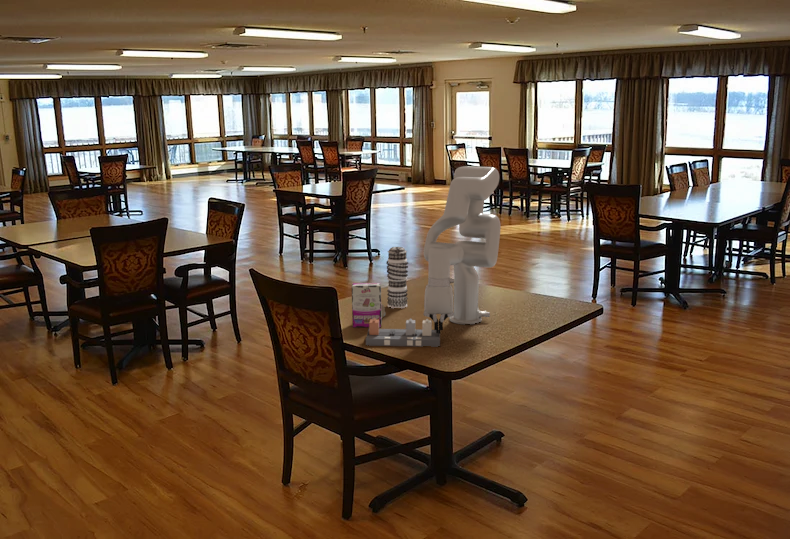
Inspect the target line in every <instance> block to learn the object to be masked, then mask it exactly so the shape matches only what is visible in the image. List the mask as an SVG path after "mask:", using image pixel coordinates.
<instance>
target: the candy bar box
mask: <svg viewBox="0 0 790 539" xmlns="http://www.w3.org/2000/svg"><path fill="white" fill-rule="evenodd" d="M381 304H382V282H366V283H365V282H361V283H360V282H359V283H358V282H357V283H354V282H353V283H351V309H352V310H351V311H352V312H351V316H352V328H369V322H370V319H374V318H376V320H379V328H381V327H382V322H383V321H382V319H383V318H382V316H381Z"/></svg>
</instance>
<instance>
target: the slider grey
mask: <svg viewBox="0 0 790 539" xmlns="http://www.w3.org/2000/svg"><path fill="white" fill-rule="evenodd" d="M405 329H406V335H412V334H414V336H415V329H416V319H412V318H409V319H406V321H405Z"/></svg>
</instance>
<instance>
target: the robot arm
mask: <svg viewBox="0 0 790 539" xmlns="http://www.w3.org/2000/svg"><path fill="white" fill-rule="evenodd" d="M453 177H454V178H453V179H452V180H451V181H450V185H449V188H448V194H447V198H446V202H445V207H444V212H443V214H442V215H441V216H440V217H439V218H438V219H437V220H435V222H433V224H432V225H431V226H430V228H429V229H428V231H427V233H426V237H425V241H424V247H423V258H424V260H425V261H426V262H427V263H428V266H427V267H428V270H427V272H428V278H427V279H428V281H427V282H428V283H427V284H426V286H425V290H424V299H423V300H424V301H423V302H424V303H423V304H424V305H423V307H424V308H423V309H424V311H423V316H424V317H427V318H430V319H431V320H432V321H433V323H434V324H433V326H434V328H433V330H436V333H438V330H439V333H440V334H441V332H442V331H443V330H444V327H443V326H444V321H446V319H448V318H449V322H451V323H453V324H456V325H457V324H458V325H465V324H470V325H475V323H477V324H480V323H481V322H482V320H483V319H482V318H483V317H484V318H490V317H491V315H490V314H491V312H490V311H487V310H483V311H482V310H480V308H479V280H480V279H479V278H480V277H479V274H478V272H477V269H475V267H477V268H478V267H479V268H488V269H489V268H493V267H495V265H496V264H497V261H498V256H499V255H498V254H499V249H500V248H499V246H500V238H501V229H502V228H501V226H502V225H501V221H500V218H499V217H498V215H496V214H491V213H484V205H485V203H484V201H487V200H488V199H489V197H490V196H491V195H492V194H493V192H494V191H495V190H496V189H497V187H498V186H499V183H500V173H499V171H498V169H497V168H496V167H493V166H475V165H474V166H472V165H471V166H470V165H466V166H465V165H463V166H459V167H457V168H456V169H455V171H454V176H453ZM456 226H458V232H459V234H460V236H462V237H465V238H468V239H469V238H473V239H483V240H485V242H484V241H475V240H474V241H472V240H459V241H457V242H455V243H452V242H451V243H450V242H441V241H440V242H439V241H437V240H438V239H439V236H440V235H441V234H442V233H443V232H445V231H446V230H448V229H451V228H454V227H456ZM451 266H453V278H451ZM452 283H453V287H452ZM437 315H440V318H438V317H437ZM438 319H439V320H438ZM479 322H480V323H479Z"/></svg>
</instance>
